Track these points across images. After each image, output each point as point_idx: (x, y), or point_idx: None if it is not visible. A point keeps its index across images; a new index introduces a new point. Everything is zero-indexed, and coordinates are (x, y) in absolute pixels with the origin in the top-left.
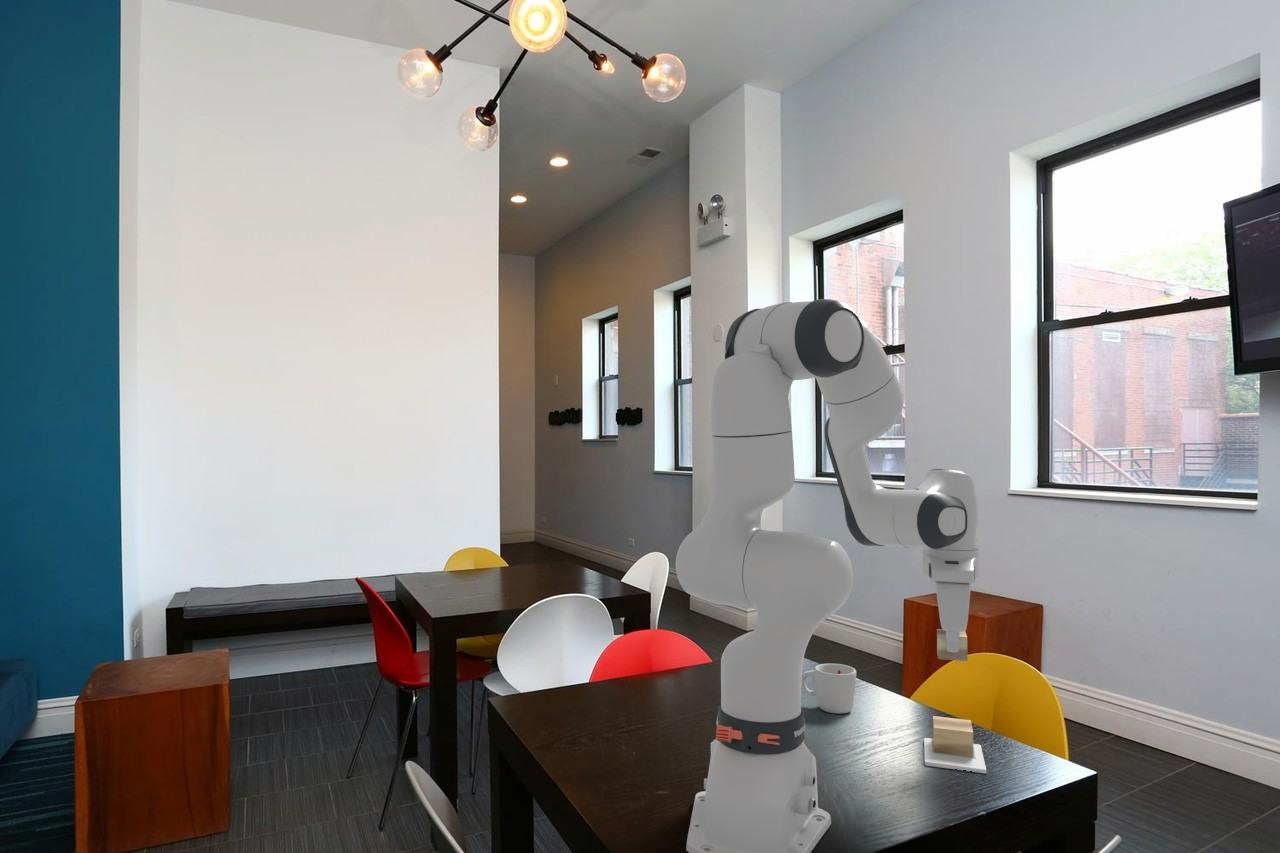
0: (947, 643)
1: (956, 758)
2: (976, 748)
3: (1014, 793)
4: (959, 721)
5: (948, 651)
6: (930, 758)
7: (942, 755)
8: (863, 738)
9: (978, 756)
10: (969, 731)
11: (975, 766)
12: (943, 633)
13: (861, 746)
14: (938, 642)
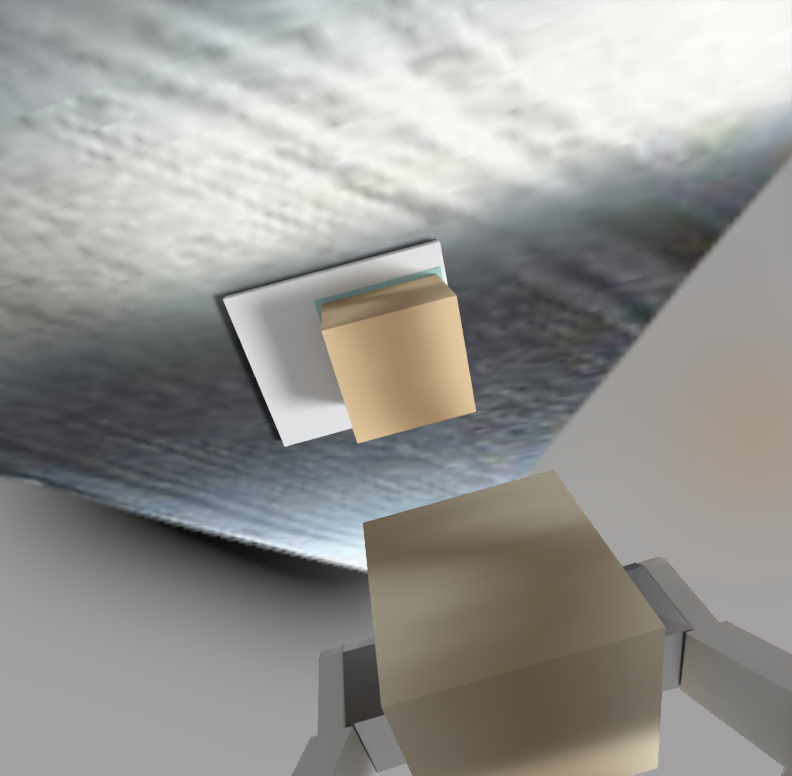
0: (318, 714)
1: (315, 369)
2: None
3: (208, 508)
4: (444, 385)
5: (321, 652)
6: (260, 308)
7: (312, 331)
8: (336, 6)
9: None
10: (358, 433)
11: (288, 422)
12: (473, 716)
13: (240, 28)
14: (374, 634)
